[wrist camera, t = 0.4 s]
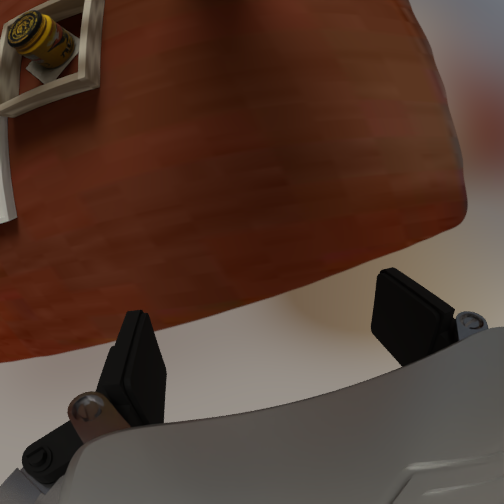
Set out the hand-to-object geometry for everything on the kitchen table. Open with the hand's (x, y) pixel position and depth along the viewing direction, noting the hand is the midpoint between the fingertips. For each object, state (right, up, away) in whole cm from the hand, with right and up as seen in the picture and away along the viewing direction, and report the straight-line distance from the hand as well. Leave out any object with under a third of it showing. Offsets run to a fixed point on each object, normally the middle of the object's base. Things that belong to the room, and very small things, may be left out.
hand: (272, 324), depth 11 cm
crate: (-30, +32, +16) cm, 47 cm away
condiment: (-30, +32, +16) cm, 47 cm away
